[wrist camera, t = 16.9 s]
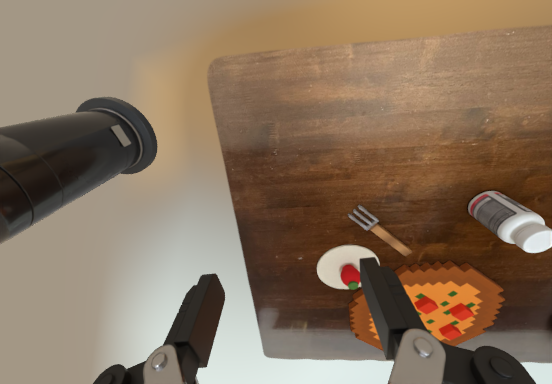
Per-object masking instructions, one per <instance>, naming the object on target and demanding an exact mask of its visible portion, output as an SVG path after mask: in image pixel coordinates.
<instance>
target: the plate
mask: <svg viewBox="0 0 552 384" xmlns="http://www.w3.org/2000/svg"><path fill="white" fill-rule="evenodd" d="M368 257H375V258H376V260H377V262H378V264H379V260H378V258H377V256H376V255H375V253H374V252H372V251H371V250H370V249H368V248H366V247H363V246H359V245H342V246H338V247H335V248H333V249H331V250H329V251H327V252H326V253H325V254H323V255H322V257H321V258H320V259H319V261H318V263H317V274H318V276H319V278H320V279H321V280H322V281H323V282H324V283H325V284H327V285H329V286H331V287H334V288H338V289H349V288H348V286H346V285H345V284H344V283H343V282H342V280H341V277H340V274H341V271H342V268H343V267H344V266H345V265H352V266H354V268H356V269H357V270H358V271H359V272H360V258H368ZM379 266H380V264H379ZM358 287H361V282H360V283H359V286H358Z"/></svg>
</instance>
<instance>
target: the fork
mask: <svg viewBox="0 0 552 384" xmlns="http://www.w3.org/2000/svg"><path fill="white" fill-rule="evenodd" d="M358 208H359V209H360V210H362V211H363V212H364V213H366V214H367V215H368V216H369V217H371V218H372V219H373V220H372V221H370V220H368V219H367V218H366V217H364V216H363V215H362V214H361V213H359V212H358V211H357V210H355V209H354V210H353V212H354V213H355V214H356V215H358V216H359V217H360V218H361V219H363V220H364V221H365V222H367V223H368V224H367V225H365V224H363V223H362V222H361V221H359V220H358V219H357V218H355V217H354V216H353V215H351V214H350V213H349V214H348V217H350V218H351V219H352V220H354V221H355V222H356V223H358V224H359V225H360V226H362V227H363V228H364V229H366V230H368V229H369V228H370V230H371V231H372V232H374V233H375V234H376V235H378V236H379V237H380V238H382V239H383V240H384V241H386V242H387V243H388V244H390V245H391V246H392V247H394V248H395V249H396V250H397V251H399V252H400V253H401V254H403V255H404V256H407V255H408V254H410V253H411V252H412V251H411V249H410V248H409V247H408V246H407V245H405V244H404V243H403V242H401V241H400V240H399V239H398V238H396V237H395V236H394V235H392V234H391V233H390V232H389V231H387V230H386V229H385V228H383V227H382V226H381V225H379V224H378V223H377V222H379V220H378V219H377V218H376V217H375V216H374V215H372V214H371V213H370V212H368V211H367V210H366V209H365V208H363V207H362V206H361V205H359V206H358Z"/></svg>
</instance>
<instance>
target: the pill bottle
mask: <svg viewBox="0 0 552 384" xmlns="http://www.w3.org/2000/svg"><path fill="white" fill-rule="evenodd" d="M468 211H469V213H470V214H471V215H472V216H473V217H474V218H475V219H477V220H478V221H479V222H480V223H482V224H483V225H484V226H485V227H487V228H488V229H489V230H490V231H492V232H493V233H494V234H495V235H497V236H498V237H499V238H500V239H502V240H503V241H505V242H508V243H512V244H516V245H517V246H518V247H520V248H521V249H523V250H524V251H526V252H529V253H538V252H542V251H545V250H547V249H549V248H550V247H552V230H551V229H550V228H548V227H547V226H545V223H544V220H543V218H542V217H541V216H539V215H538V214H536V213H535V212H533V211H531V210H529V209H528V208H526V207H524V206H522V205H521V204H519V203H517V202H515V201H514V200H512V199H510V198H508V197H507V196H505V195H503V194H501V193H499V192H497V191H487V192H483V193H481V194H479V195H477V196H476V197H475V198H473V199H472V200H471V202H470V203H469V205H468Z"/></svg>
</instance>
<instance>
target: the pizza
mask: <svg viewBox="0 0 552 384" xmlns="http://www.w3.org/2000/svg"><path fill="white" fill-rule="evenodd" d="M394 272H395V273H396V274H397V276H398V277H399V279H400V281H401V283H402V286H403V287H404V288H405V290H406V293H407V294H408V296H409V298H410V299H411V301H412V303H413V305H414V307H415V309H416V311H417V312H418V314H419V316H420V318H421V320H422V322H423V323H424V325H425V327H426V328H427V330H428V331H429V332H430V333H431V334H432V335H433V336H434V337H436V338H437V339H439V340H440V341H442V342H444V343H446V344H448V345H451V346H456V345H458V344H460V343H462V342H465V341H467V340H469V339H471V338H473V337H476V336H478V335H480V334H482V333H484V332H486V331H485V330H484V328H486V327H488V326H490V325H493V324H495V323H494V322H493V321H492V320H494V319H496V318H497V317H496V316H495V314H497V313H499V311H498V310H497V309H498V308H500V307H502V305H501V304H500V302H502V301H504V300H505V299H504V298H503V297H502V296H501V295H500V294H499V293H500V292H502V291H504V290H503V289H502V288H501V287H500V286H499V285H498V284H497V283H496V282H494V281H493V280H491V279H490V278H488V277H487V276H485V275H484V274H482V273H481V272H480V271H478V270H477V269H475V268H474V267H472V266H471V265H469V264H468V263H464V264H463V265H461V266H458V265H456V264H455V263H453V262H452V261H450V260H449V261H447V262H446V263H444V264H442V263H440V262H439V261H437V262H436V263H434V264H433V265H430V264H429V263H427V262H426V263H425V264H423V265H422V266H419V265H417V264H416V263H415V264H413V265H412V266H411V267H408V266H406V265H405V264H404V265H402V266H401V267H400V268H398V269H397V270H395V271H394ZM353 299H354V300H353V301H352V302H350V303H349V304H348V305H349V313H350V314H349V317H350V328H351V331H352V332H354V333H355V336H356V338H357V339H359V340H362V341H364V342H366V343H368V344H370V345H372V346H374V347H376V348H378V349H380V350H382V351H383V348H382V345H381V342H380V339H379V336H378V333H377V331H376V328H375V325H374V322H373V319H372V316H371V313H370V310H369V307H368V305H367V302H366V299H365V296H364V293H363V290H362V288H361V289H360V290H359V291H357V292H356V293H354V294H353Z"/></svg>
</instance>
